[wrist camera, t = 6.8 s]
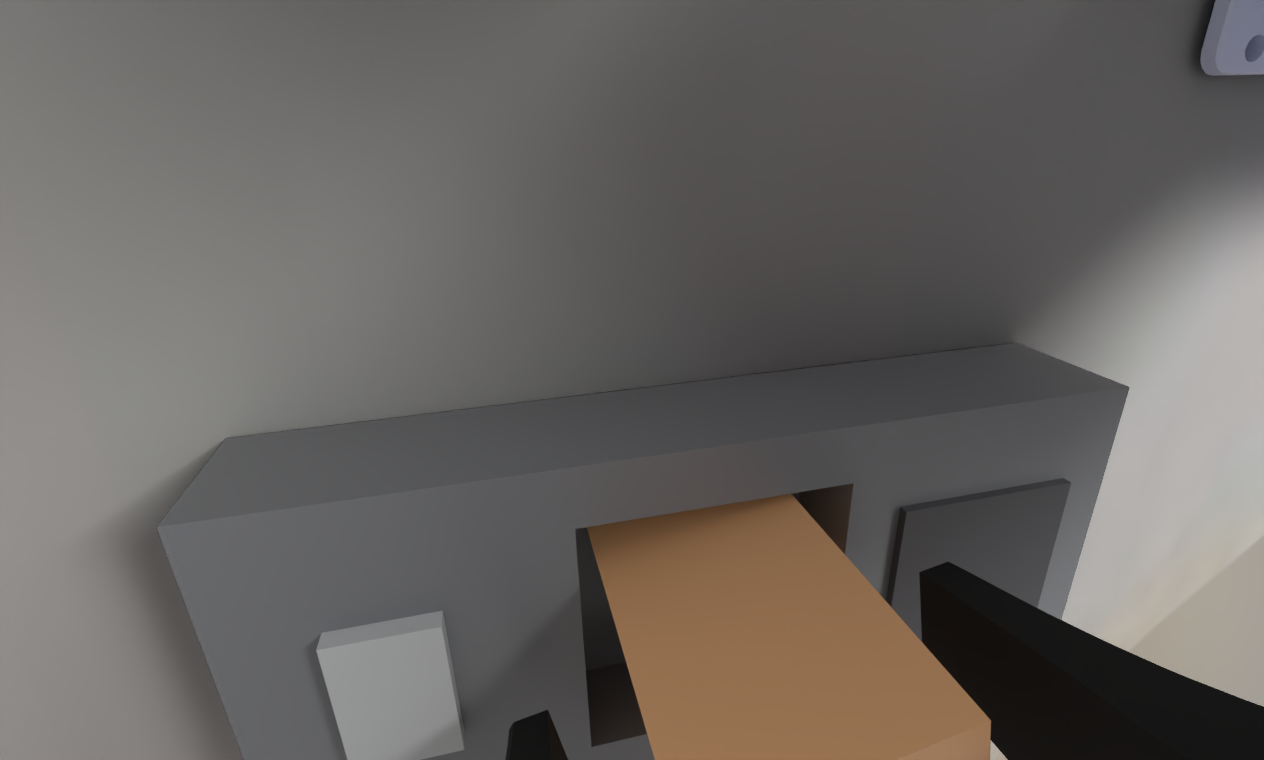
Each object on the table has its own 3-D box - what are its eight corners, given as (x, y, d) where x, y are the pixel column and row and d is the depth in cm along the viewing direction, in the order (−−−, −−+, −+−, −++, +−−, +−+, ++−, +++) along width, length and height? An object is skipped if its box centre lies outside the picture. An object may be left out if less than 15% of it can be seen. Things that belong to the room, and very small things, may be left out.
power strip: (1016, 342, 16) (1148, 394, 13) (962, 595, 19) (1058, 686, 16) (225, 438, 12) (144, 543, 9) (316, 733, 15) (278, 887, 12)
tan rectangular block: (754, 451, 14) (990, 720, 8) (776, 587, 16) (985, 900, 9) (580, 509, 13) (681, 849, 7) (622, 643, 15) (734, 1015, 9)
